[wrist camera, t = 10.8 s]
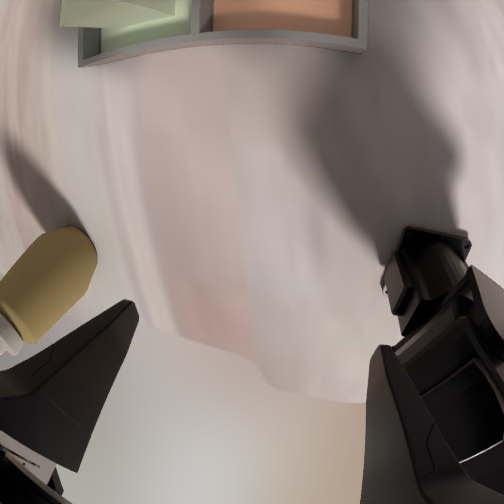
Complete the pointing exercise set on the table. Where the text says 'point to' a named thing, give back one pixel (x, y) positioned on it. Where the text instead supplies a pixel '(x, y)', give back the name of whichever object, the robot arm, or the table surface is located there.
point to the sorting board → (233, 28)
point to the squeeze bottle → (44, 286)
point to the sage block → (114, 12)
